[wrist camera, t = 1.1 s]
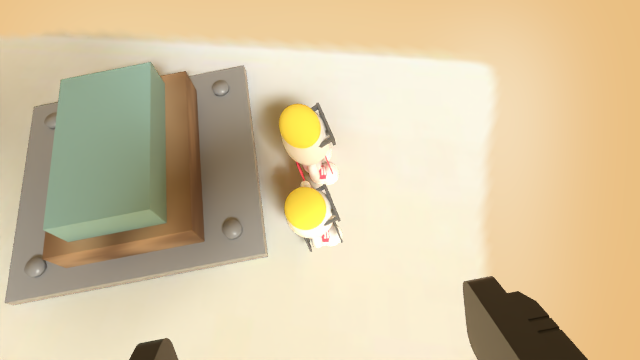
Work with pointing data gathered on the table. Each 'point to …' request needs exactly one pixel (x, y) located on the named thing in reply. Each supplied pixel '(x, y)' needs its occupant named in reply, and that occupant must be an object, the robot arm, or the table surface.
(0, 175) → the table surface
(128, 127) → the stepped display pedestal
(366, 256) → the table surface
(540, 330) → the robot arm
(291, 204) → the toy figures
